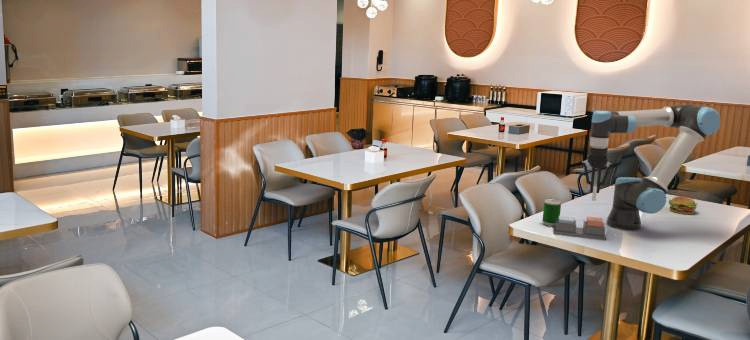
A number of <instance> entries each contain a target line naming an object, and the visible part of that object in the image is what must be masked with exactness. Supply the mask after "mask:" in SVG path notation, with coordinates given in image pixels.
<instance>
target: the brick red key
mask: <svg viewBox="0 0 750 340" xmlns="http://www.w3.org/2000/svg"><path fill="white" fill-rule="evenodd" d="M585 221H586V224H587V226H594V227H603V223H604V219H603V218H602V217H595V216H586V220H585Z"/></svg>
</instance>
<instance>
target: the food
mask: <svg viewBox="0 0 750 340" xmlns="http://www.w3.org/2000/svg"><path fill="white" fill-rule="evenodd" d="M668 204H669V210H670V212H673V213H675V212H676V214H680V213H682V215H693V214H695V212H696V210H697V207H698V206H697V205H698V203H696V201H694V199H692V198H691V197H688V196H679V195H678V196H675V197H673V198H672V199H668Z"/></svg>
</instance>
